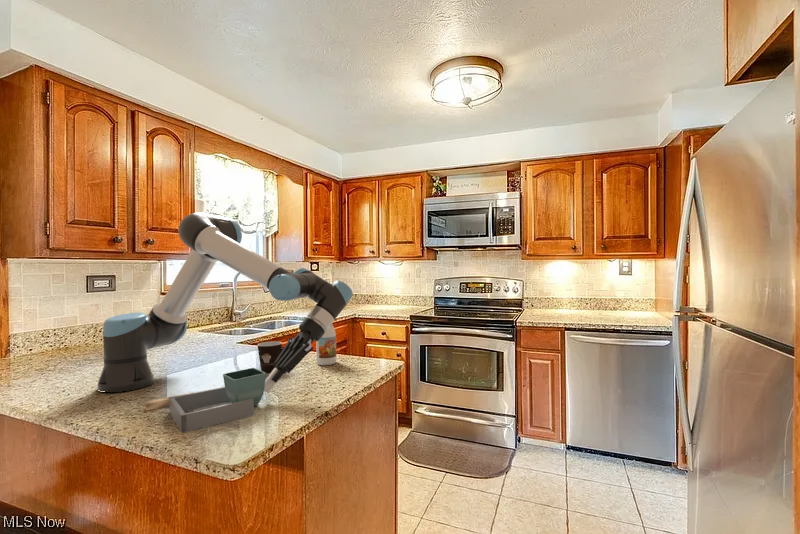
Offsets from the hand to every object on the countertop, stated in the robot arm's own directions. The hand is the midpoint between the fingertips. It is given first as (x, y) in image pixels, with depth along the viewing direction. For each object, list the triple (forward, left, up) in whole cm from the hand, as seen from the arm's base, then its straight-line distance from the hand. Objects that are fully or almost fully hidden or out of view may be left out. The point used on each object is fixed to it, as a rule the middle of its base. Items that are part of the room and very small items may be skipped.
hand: (263, 390), depth 111 cm
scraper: (-24, +9, -4) cm, 26 cm away
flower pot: (-5, -1, -4) cm, 6 cm away
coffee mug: (+3, +34, -4) cm, 35 cm away
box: (-13, -4, -3) cm, 14 cm away
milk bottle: (+23, +38, -4) cm, 45 cm away
